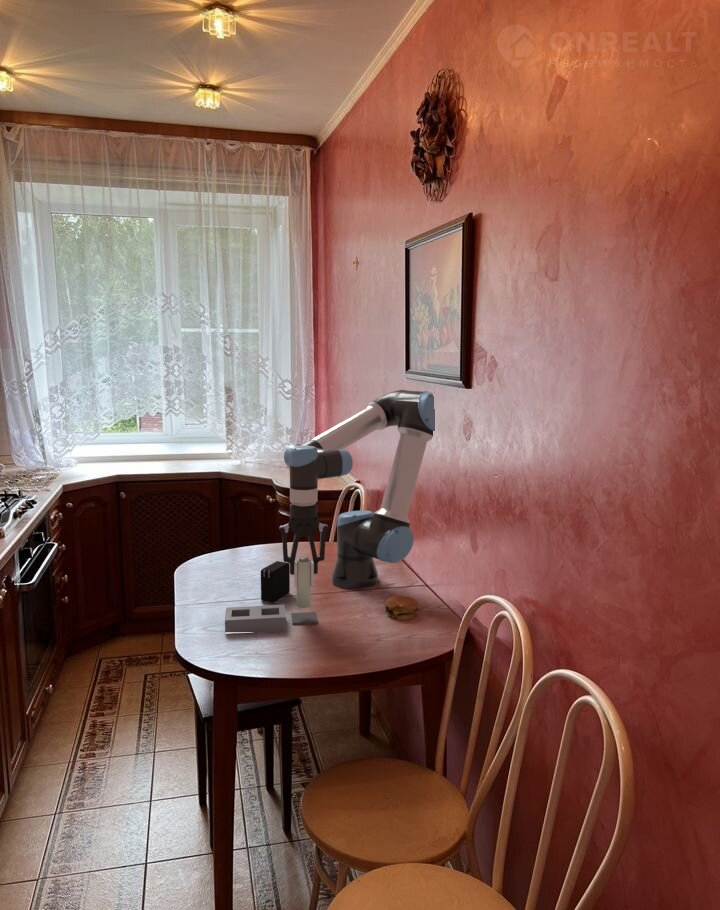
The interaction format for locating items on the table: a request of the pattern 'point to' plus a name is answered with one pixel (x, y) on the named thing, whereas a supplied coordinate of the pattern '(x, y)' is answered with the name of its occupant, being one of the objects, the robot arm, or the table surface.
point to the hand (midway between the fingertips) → (303, 584)
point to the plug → (303, 582)
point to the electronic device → (275, 581)
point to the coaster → (304, 618)
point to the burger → (402, 607)
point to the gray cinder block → (255, 619)
